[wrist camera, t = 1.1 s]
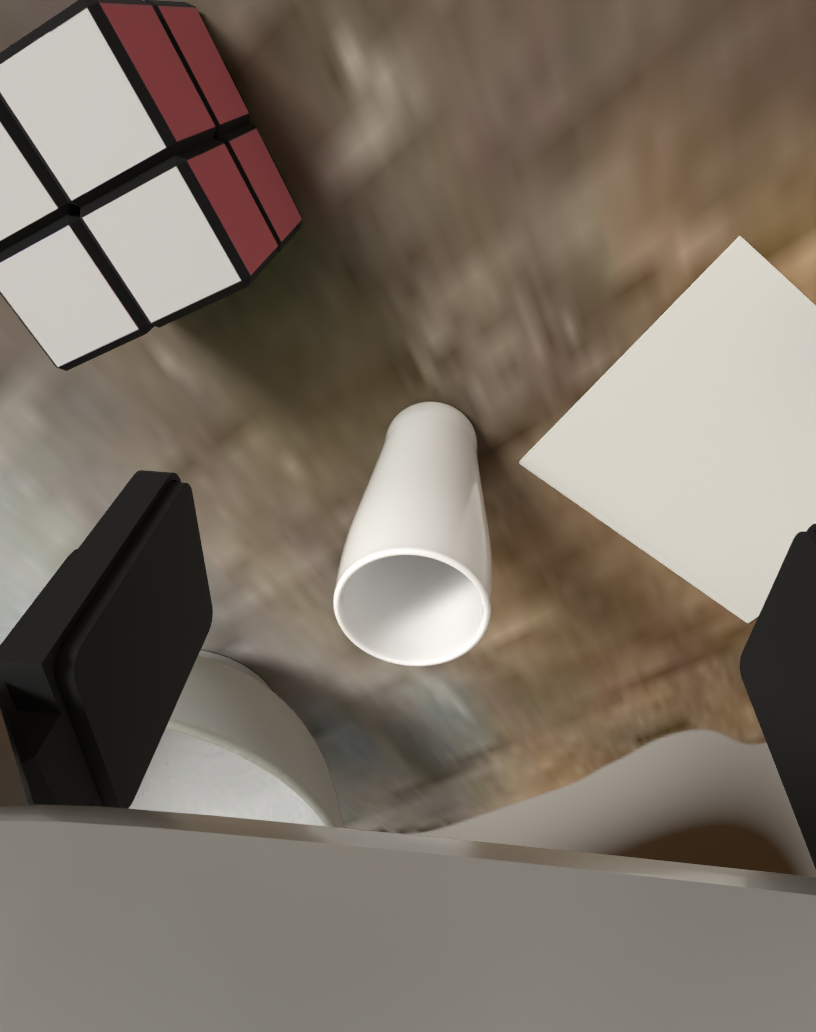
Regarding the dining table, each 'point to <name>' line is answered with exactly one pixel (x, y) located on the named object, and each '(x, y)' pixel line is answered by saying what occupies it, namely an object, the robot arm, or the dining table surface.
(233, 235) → the puzzle cube
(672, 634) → the dining table surface
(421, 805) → the dining table surface
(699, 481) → the mat
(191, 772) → the decorative bowl
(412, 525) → the white plastic cup
